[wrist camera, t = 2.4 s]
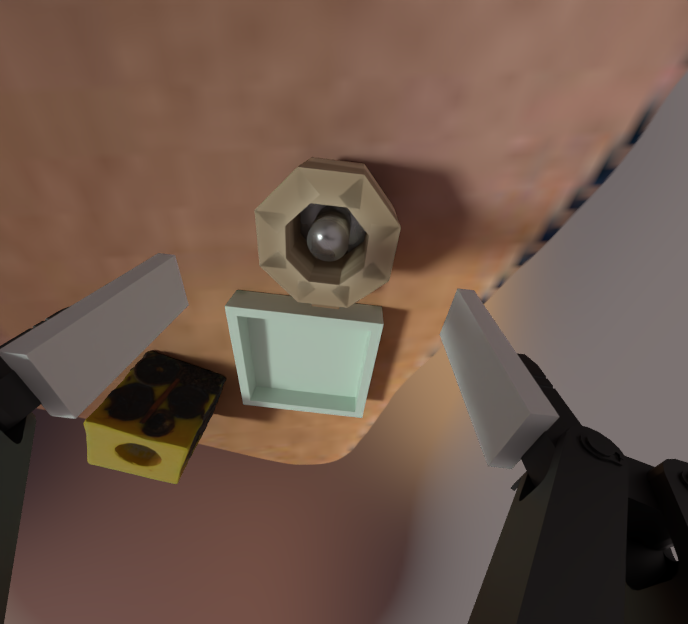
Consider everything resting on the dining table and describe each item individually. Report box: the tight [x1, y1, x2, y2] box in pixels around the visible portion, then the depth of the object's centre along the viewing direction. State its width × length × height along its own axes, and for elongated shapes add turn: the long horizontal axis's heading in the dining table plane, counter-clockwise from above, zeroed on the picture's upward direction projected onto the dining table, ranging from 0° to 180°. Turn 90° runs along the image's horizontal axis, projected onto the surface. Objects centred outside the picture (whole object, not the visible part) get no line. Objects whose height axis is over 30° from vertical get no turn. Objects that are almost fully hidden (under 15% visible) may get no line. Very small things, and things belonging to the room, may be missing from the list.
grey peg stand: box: [300, 203, 365, 262], centre depth 20 cm, size 6×6×6 cm
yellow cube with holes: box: [84, 351, 226, 484], centre depth 33 cm, size 10×10×10 cm
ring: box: [255, 157, 401, 309], centre depth 20 cm, size 11×9×5 cm
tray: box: [225, 290, 384, 418], centre depth 31 cm, size 15×15×3 cm
